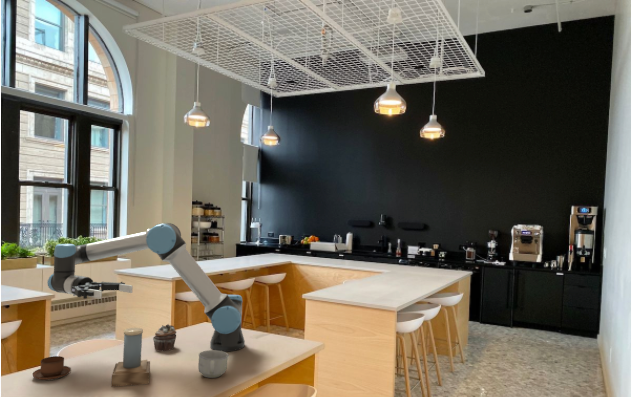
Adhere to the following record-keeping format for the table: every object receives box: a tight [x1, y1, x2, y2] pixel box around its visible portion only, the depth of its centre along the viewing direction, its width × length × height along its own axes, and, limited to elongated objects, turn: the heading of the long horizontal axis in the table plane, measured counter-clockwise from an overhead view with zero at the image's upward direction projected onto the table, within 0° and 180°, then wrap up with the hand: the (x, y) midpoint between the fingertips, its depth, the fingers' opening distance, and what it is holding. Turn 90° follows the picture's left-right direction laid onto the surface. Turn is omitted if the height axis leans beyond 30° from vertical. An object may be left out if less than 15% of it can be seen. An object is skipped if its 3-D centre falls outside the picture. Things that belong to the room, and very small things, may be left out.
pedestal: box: [110, 359, 151, 388], centre depth 166 cm, size 12×12×5 cm
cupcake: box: [152, 323, 177, 352], centre depth 201 cm, size 10×10×10 cm
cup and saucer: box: [32, 355, 72, 381], centre depth 166 cm, size 12×12×6 cm
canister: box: [122, 327, 144, 368], centre depth 166 cm, size 6×6×13 cm
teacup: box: [197, 349, 229, 379], centre depth 170 cm, size 14×11×8 cm
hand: (116, 292), depth 171 cm, fingers open, 13 cm apart
